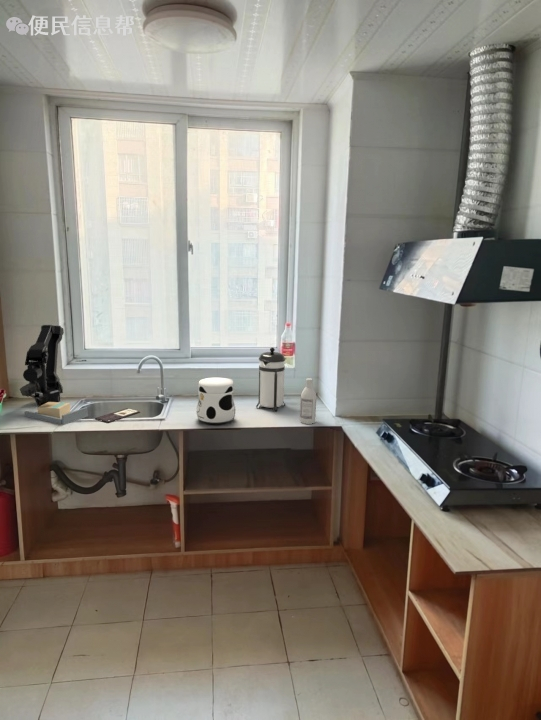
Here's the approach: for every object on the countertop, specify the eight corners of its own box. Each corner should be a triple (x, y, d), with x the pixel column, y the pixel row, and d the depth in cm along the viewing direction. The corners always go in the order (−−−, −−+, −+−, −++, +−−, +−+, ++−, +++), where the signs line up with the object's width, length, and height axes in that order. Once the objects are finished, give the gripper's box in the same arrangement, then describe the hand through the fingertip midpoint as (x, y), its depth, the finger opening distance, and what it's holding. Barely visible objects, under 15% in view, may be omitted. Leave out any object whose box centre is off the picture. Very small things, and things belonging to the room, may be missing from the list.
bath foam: (307, 418, 214) (308, 376, 210) (318, 422, 209) (320, 379, 205) (296, 421, 210) (298, 378, 206) (308, 425, 205) (309, 381, 201)
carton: (49, 411, 211) (48, 401, 210) (70, 412, 210) (69, 402, 209) (38, 417, 202) (37, 407, 201) (60, 418, 201) (59, 408, 200)
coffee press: (291, 411, 225) (293, 350, 219) (259, 412, 221) (260, 350, 215) (282, 400, 241) (283, 343, 235) (251, 402, 237) (252, 344, 231)
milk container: (189, 418, 210) (189, 380, 206) (222, 412, 220) (222, 375, 217) (208, 429, 197) (208, 388, 193) (242, 422, 207) (243, 383, 203)
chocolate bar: (94, 418, 206) (126, 408, 221) (95, 420, 206) (127, 410, 221) (108, 422, 201) (140, 411, 216) (108, 424, 202) (140, 413, 217)
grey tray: (49, 411, 216) (48, 399, 214) (88, 419, 206) (87, 407, 205) (24, 419, 204) (23, 407, 203) (64, 428, 194) (63, 415, 193)
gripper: (8, 377, 202) (11, 411, 205) (37, 382, 194) (40, 418, 198) (30, 372, 212) (33, 405, 215) (59, 377, 204) (62, 411, 207)
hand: (41, 410), depth 209 cm, fingers closed
